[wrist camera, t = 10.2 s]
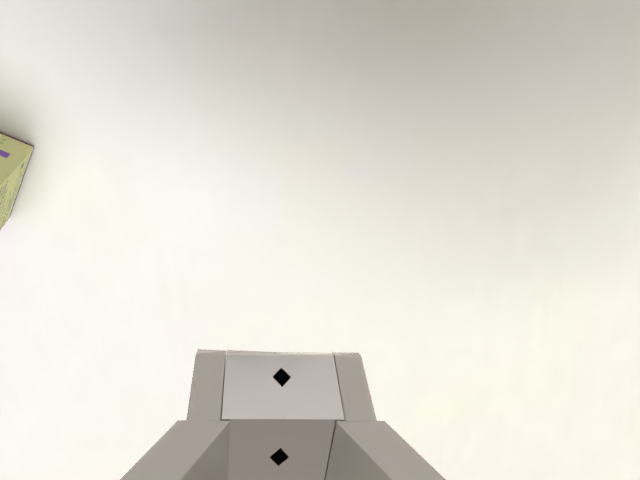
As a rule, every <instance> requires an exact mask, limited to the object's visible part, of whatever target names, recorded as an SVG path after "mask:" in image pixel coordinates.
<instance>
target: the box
mask: <svg viewBox="0 0 640 480" xmlns="http://www.w3.org/2000/svg"><path fill="white" fill-rule="evenodd" d="M33 149H34V148H33V147H32V146H30V145H27V144H25V143H23V142H20V141H18V140H15V139H13V138H10V137H8V136H6V135H3V134H1V133H0V229H1V228H2V227H3V226H4V224H5V223H6V222H7V220H8V219H9V216H10V214H11V211H12V208H13V205H14V202H15V199H16V196H17V193H18V190H19V187H20V184H21V181H22V178H23V176H24V173H25V170H26V167H27V164H28V161H29V158H30V156H31V153H32V151H33Z"/></svg>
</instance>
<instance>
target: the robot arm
mask: <svg viewBox="0 0 640 480" xmlns="http://www.w3.org/2000/svg"><path fill="white" fill-rule="evenodd" d="M120 480H445V479H444V478H443V477H442V476H441V475H440V474H439V473H438V472H437V471H436V470H435V469H434V468H433V467H432V466H431V465H430V464H429V463H428V462H427V461H426V460H425V459H423V458H422V457H421V456H420V455H419V454H418V453H417V452H416V451H415V450H414V449H413V448H412V447H411V446H410V445H409V444H408V443H407V442H406V441H405V440H404V439H403V438H402V437H401V436H400V435H399V434H397V433H396V432H395V431H394V430H393V429H392V428H391V427H390V426H389V425H388V424H387V423H386V422H385V421H376V416H375V412H374V408H373V404H372V400H371V395H370V391H369V387H368V383H367V379H366V374H365V370H364V366H363V362H362V358H361V356H360V354H359V353H332V354H331V353H294V352H257V351H234V350H226V351H220V350H200V349H198V351H197V354H196V357H195V364H194V371H193V378H192V385H191V392H190V400H189V407H188V414H187V420H183V421H177V422H176V423H175V424H174V425H173V426H172V427H171V428H170V429H169V430H168V431H167V432H166V433H165V434H164V435H163V436H162V437H161V438H160V439H159V440H158V442H157V443H156V444H155V445H154V446H153V447H152V448H151V449H150V450H149V451H148V452H147V453H146V454H145V455H144V456H143V457H142V458H141V459H140V460H139V461H138V462H137V463H136V464H135V465H134V466H133V467H132V468H131V469H130V470H129V471H128V472H127V473H126V474H125V475H124V476H123V477H122V478H121V479H120Z"/></svg>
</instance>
